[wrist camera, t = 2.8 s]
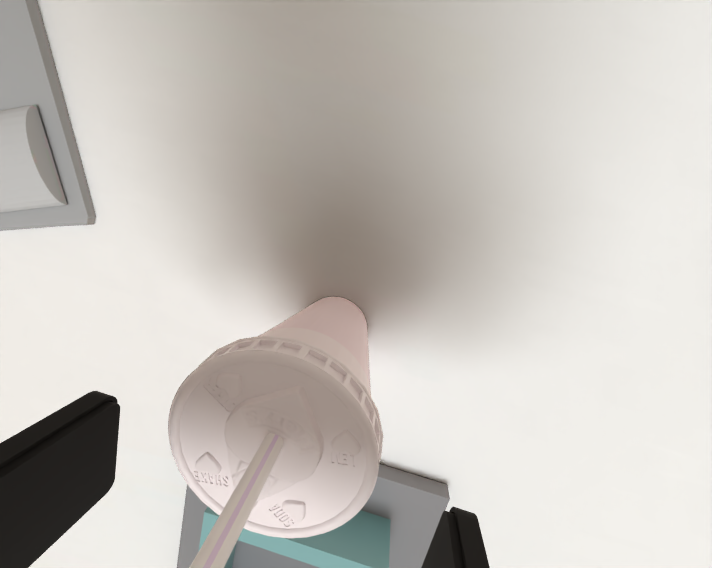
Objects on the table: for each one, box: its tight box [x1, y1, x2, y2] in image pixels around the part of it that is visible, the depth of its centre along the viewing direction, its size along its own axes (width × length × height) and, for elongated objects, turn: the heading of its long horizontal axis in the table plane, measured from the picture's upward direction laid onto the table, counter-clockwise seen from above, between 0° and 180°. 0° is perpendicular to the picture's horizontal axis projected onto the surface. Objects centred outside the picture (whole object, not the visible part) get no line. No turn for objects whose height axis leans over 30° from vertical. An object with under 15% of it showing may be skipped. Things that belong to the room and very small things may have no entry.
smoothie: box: [168, 297, 383, 568], centre depth 12 cm, size 6×6×14 cm
